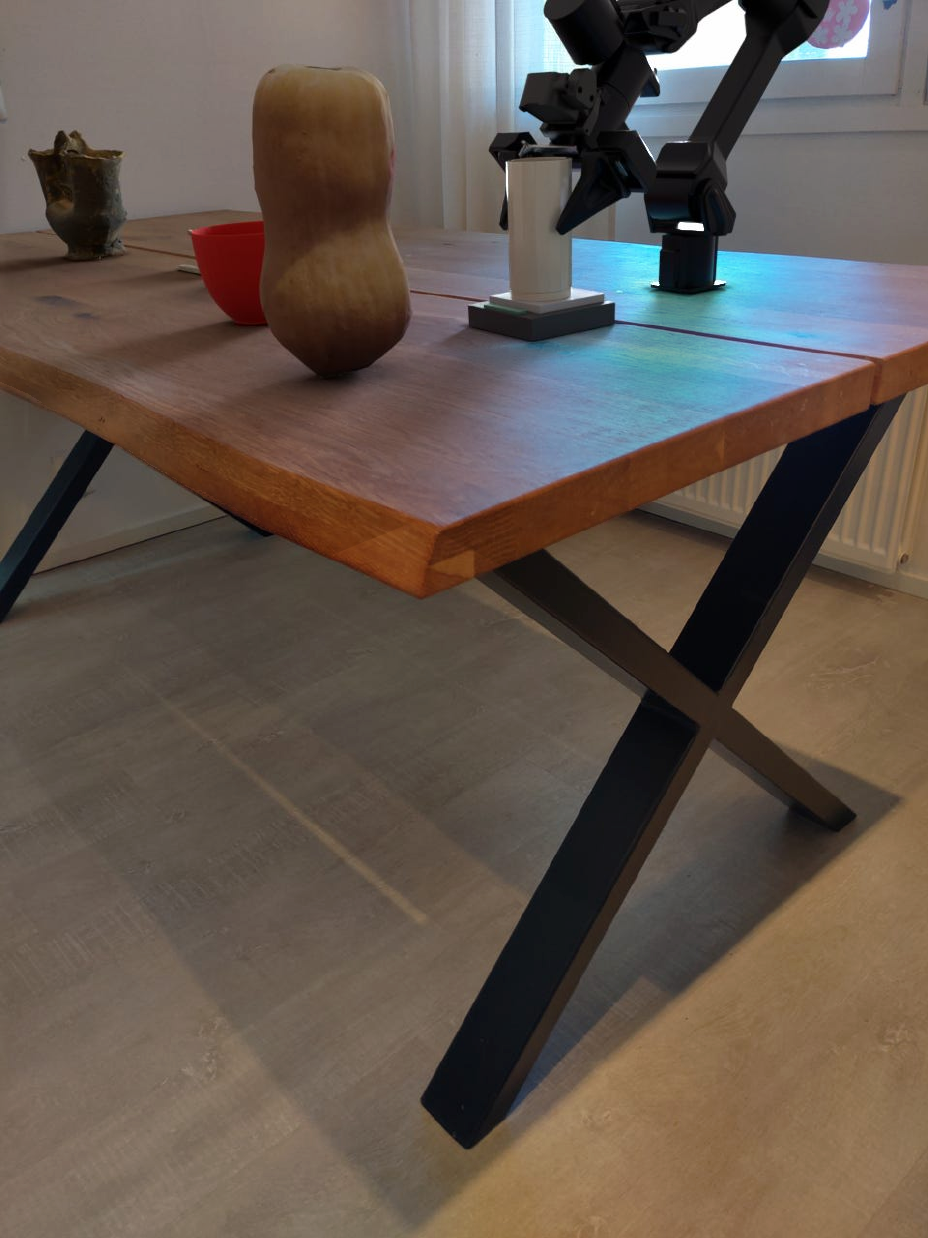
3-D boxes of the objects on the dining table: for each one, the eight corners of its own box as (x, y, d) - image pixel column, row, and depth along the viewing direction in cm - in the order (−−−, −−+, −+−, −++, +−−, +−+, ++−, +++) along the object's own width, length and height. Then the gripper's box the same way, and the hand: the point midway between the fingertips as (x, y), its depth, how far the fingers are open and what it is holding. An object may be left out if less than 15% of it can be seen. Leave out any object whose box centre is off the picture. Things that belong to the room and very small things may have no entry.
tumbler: (568, 288, 108) (568, 155, 102) (574, 299, 102) (574, 159, 96) (508, 291, 108) (504, 158, 102) (511, 302, 102) (508, 162, 96)
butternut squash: (431, 379, 88) (410, 53, 77) (279, 398, 85) (232, 62, 74) (396, 347, 100) (372, 61, 89) (261, 363, 97) (218, 68, 86)
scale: (548, 310, 113) (548, 282, 112) (614, 323, 105) (615, 294, 104) (468, 325, 108) (467, 296, 106) (532, 341, 100) (531, 310, 98)
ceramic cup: (258, 301, 128) (246, 216, 123) (340, 314, 117) (331, 222, 112) (167, 319, 120) (150, 229, 115) (246, 336, 109) (231, 237, 104)
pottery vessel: (38, 254, 181) (9, 132, 171) (96, 246, 187) (71, 127, 177) (92, 266, 163) (63, 130, 154) (154, 257, 169) (130, 126, 160)
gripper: (498, 44, 103) (423, 171, 102) (642, 29, 90) (558, 175, 89) (552, 125, 111) (483, 244, 110) (691, 122, 98) (614, 256, 97)
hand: (529, 229), depth 101 cm, fingers open, 8 cm apart
